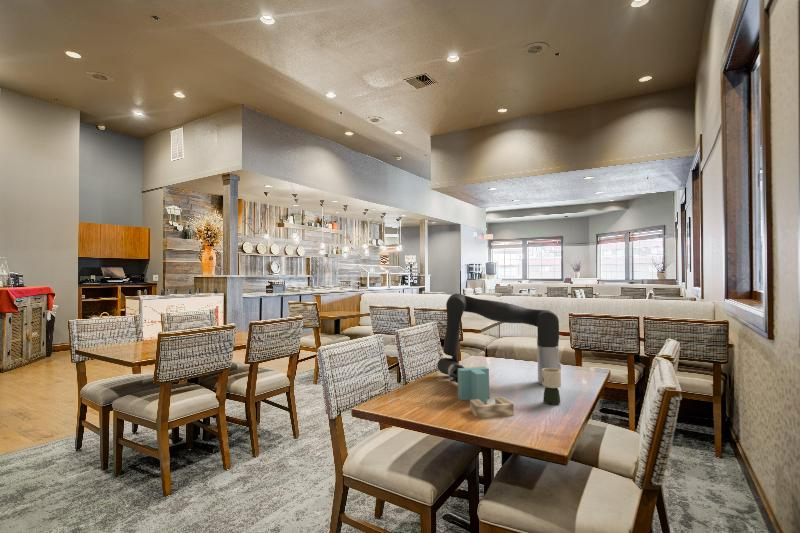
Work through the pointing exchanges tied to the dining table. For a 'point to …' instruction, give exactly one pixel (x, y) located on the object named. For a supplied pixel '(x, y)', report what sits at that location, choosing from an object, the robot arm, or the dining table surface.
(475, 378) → the t block
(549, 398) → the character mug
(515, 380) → the dining table surface
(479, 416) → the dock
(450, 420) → the dining table surface
